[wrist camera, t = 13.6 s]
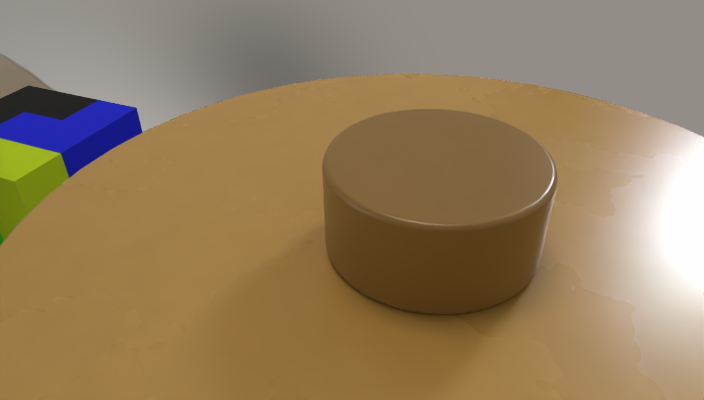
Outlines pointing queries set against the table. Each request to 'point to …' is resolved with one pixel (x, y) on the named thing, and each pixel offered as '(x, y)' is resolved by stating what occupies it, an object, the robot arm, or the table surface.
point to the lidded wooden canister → (369, 252)
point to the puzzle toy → (52, 144)
